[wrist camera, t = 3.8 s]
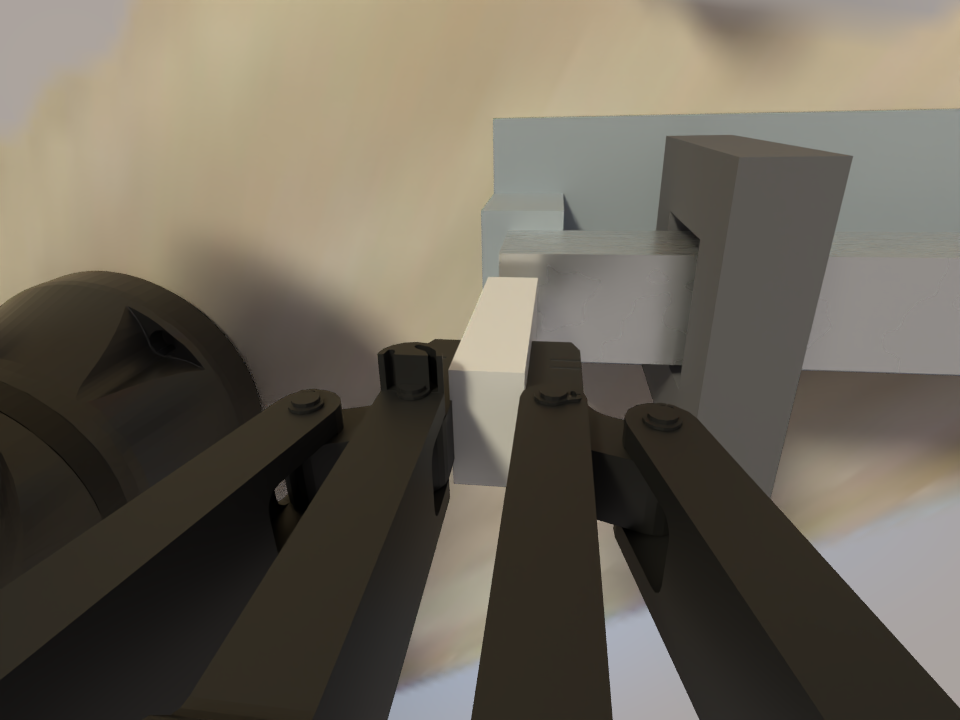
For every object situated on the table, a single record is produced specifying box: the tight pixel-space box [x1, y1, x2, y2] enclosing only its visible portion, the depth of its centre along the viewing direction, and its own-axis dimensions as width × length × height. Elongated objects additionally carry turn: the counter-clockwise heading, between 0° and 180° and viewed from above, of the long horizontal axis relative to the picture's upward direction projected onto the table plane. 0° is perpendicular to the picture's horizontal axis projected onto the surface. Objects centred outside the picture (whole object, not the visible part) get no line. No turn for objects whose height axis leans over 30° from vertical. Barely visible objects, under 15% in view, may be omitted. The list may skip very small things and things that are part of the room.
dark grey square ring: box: [642, 135, 853, 498], centre depth 19 cm, size 2×10×10 cm, turn 1°
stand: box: [481, 109, 960, 376], centre depth 22 cm, size 26×11×5 cm, turn 91°
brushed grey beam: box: [499, 230, 960, 375], centre depth 18 cm, size 24×4×4 cm, turn 91°
